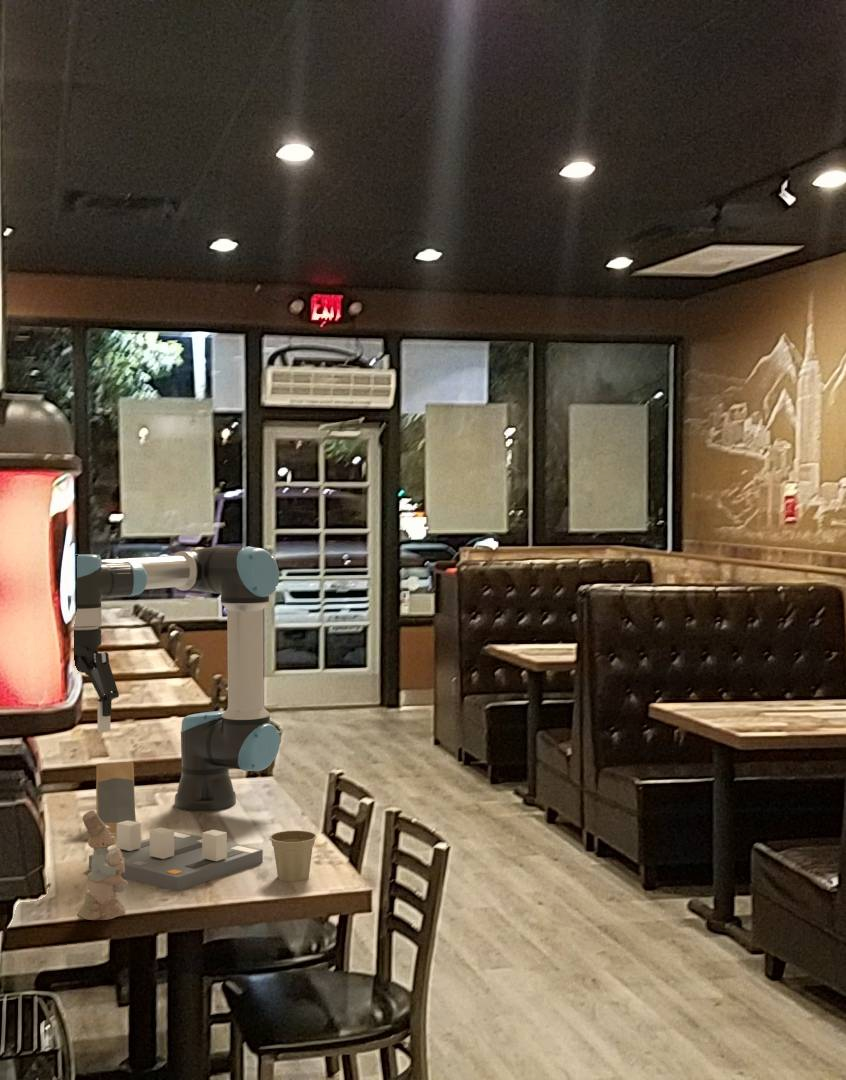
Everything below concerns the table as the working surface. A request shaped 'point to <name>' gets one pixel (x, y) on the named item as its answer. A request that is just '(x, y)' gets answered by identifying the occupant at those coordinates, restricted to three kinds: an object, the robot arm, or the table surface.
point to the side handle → (129, 835)
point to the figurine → (103, 873)
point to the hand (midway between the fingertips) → (83, 728)
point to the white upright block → (214, 845)
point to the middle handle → (161, 843)
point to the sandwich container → (115, 793)
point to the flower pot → (293, 854)
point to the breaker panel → (184, 863)
